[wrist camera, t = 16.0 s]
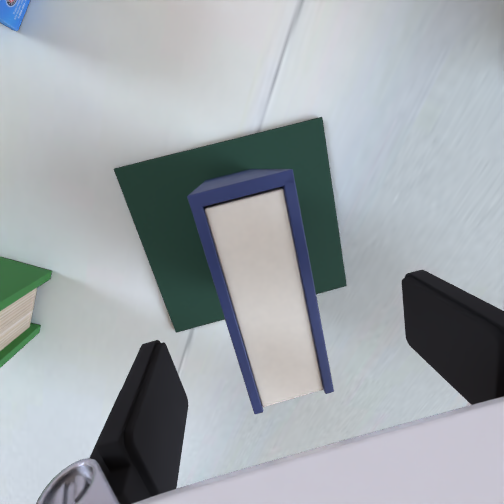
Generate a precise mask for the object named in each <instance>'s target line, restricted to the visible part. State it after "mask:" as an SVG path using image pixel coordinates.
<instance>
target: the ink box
mask: <svg viewBox="0 0 504 504" xmlns="http://www.w3.org/2000/svg"><path fill="white" fill-rule="evenodd" d="M29 2H30V0H0V23H2V24H3V25H5V26H7V27H9V28H10V29H12V30H15V31H18V30H19V27H20V25H21V23H22V20H23V17H24V15H25V12H26V10H27V7H28V5H29Z"/></svg>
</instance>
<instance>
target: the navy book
mask: <svg viewBox="0 0 504 504" xmlns="http://www.w3.org/2000/svg"><path fill="white" fill-rule="evenodd" d="M187 198H188V201H189V204H190V207H191V211H192V214H193V217H194V220H195V224H196V227H197V230H198V233H199V236H200V240H201V243H202V246H203V249H204V253H205V256H206V259H207V262H208V265H209V269H210V272H211V275H212V278H213V282H214V285H215V288H216V291H217V295H218V298H219V301H220V304H221V307H222V311H223V314H224V317H225V320H226V324H227V327H228V330H229V333H230V337H231V340H232V343H233V346H234V349H235V353H236V356H237V359H238V362H239V366H240V369H241V372H242V375H243V378H244V382H245V385H246V388H247V391H248V395H249V398H250V401H251V404H252V408H253V411H254V414H258V413H262V412H263V407H265V406H269V405H272V404H276V403H279V402H283V401H286V400H290V399H293V398H297V397H300V396H304V395H307V394H311V393H314V392H318V391H321V390H324V392H325V393H326V394H327V393H331V392H334V389H333V384H332V378H331V373H330V368H329V362H328V357H327V351H326V346H325V341H324V335H323V330H322V325H321V319H320V314H319V308H318V303H317V298H316V292H315V287H314V281H313V276H312V271H311V265H310V260H309V254H308V249H307V244H306V238H305V233H304V228H303V222H302V217H301V211H300V206H299V201H298V195H297V190H296V184H295V179H294V173H293V169H249V170H245V171H241V172H237V173H233V174H229V175H225V176H221V177H217V178H213V179H209V180H206V181H205V182H203V183H202V184H201V185H200V186H199V187H197V188H196V189H195V190H194V191H193V192H191V193H190V194H189V195H188V196H187ZM262 406H263V407H262Z"/></svg>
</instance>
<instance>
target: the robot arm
mask: <svg viewBox="0 0 504 504" xmlns="http://www.w3.org/2000/svg"><path fill="white" fill-rule="evenodd" d="M402 292H403V306H404V319H405V333H406V339H407V342H408V344H409V345H410V346H411V347H412V348H413V349H414V350H415V351H416V352H417V353H418V354H419V355H420V356H421V357H422V358H423V359H424V360H425V361H426V362H427V363H428V364H429V365H431V366H432V367H433V368H434V369H435V370H436V371H437V372H438V373H439V374H440V375H441V376H442V377H443V378H444V379H445V380H446V381H447V382H448V383H449V384H450V385H451V386H452V387H454V388H455V389H456V390H457V391H458V392H459V393H460V394H461V395H462V396H463V397H464V398H465V399H466V400H467V401H468V402H469V403H470V404H471V405H470V406H466V407H462V408H459V409H455V410H451V411H448V412H444V413H440V414H437V415H433V416H429V417H426V418H422V419H418V420H415V421H411V422H407V423H404V424H400V425H397V426H393V427H389V428H386V429H382V430H379V431H375V432H371V433H368V434H364V435H361V436H357V437H354V438H350V439H346V440H343V441H339V442H336V443H332V444H329V445H325V446H322V447H318V448H314V449H311V450H307V451H304V452H300V453H297V454H293V455H290V456H286V457H283V458H279V459H276V460H272V461H269V462H265V463H262V464H258V465H255V466H251V467H248V468H244V469H241V470H238V471H234V472H231V473H227V474H224V475H220V476H217V477H213V478H210V479H207V480H204V481H200V482H197V483H194V484H191V485H187V486H184V487H181V488H178V489H176V487H177V480H178V473H179V466H180V459H181V452H182V445H183V438H184V431H185V425H186V418H187V411H188V399H187V396H186V393H185V391H184V388H183V386H182V383H181V381H180V378H179V376H178V373H177V371H176V368H175V366H174V363H173V361H172V358H171V356H170V353H169V351H168V348H167V346H166V344H165V343H160V341H158V340H156V341H153V342H149V343H145V344H142V346H141V348H140V350H139V352H138V354H137V357H136V359H135V361H134V363H133V365H132V368H131V370H130V372H129V374H128V376H127V378H126V381H125V383H124V385H123V387H122V389H121V391H120V393H119V395H118V397H117V399H116V401H115V404H114V406H113V408H112V410H111V412H110V414H109V417H108V419H107V421H106V423H105V425H104V428H103V430H102V432H101V434H100V436H99V439H98V441H97V443H96V445H95V447H94V449H93V452H92V454H91V456H90V458H87V459H82V460H79V461H77V462H75V463H73V464H71V465H69V466H68V467H66V468H65V469H64V470H62V471H61V472H60V473H59V474H58V475H57V476H56V477H54V478H53V479H52V480H51V482H50V483H49V484H48V485H47V486H46V488H45V489H44V490H43V492H42V494H41V495H40V497H39V498H38V501H37V503H36V504H504V311H502V310H500V309H498V308H497V307H495V306H493V305H491V304H489V303H487V302H485V301H483V300H481V299H479V298H477V297H475V296H473V295H471V294H469V293H467V292H465V291H463V290H462V289H460V288H458V287H456V286H454V285H452V284H450V283H448V282H446V281H444V280H442V279H440V278H438V277H436V276H434V275H432V274H430V273H428V272H427V271H424V270H419V271H415V272H411V273H408V274H406V276H405V278H404V279H403V280H402Z"/></svg>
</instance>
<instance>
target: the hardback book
mask: <svg viewBox="0 0 504 504" xmlns="http://www.w3.org/2000/svg"><path fill="white" fill-rule="evenodd" d="M51 273H52V271H50V270H47V269H43V268H40V267H36V266H32V265H29V264H25V263H21V262H18V261H14V260H10V259H7V258H3V257H0V368H1V367H2V366H3V365H4V364H5V363H6V362H7V361H8V360H9V359H11V358H12V357H13V356H14V355H15V354H16V353H17V352H18V351H19V350H20V349H22V348H23V347H24V346H25V345H26V344H27V343H28V342H29V341H30V340H32V339H33V338H34V337H35V336H36V335H37V334H38V333H39V331H40V326H41V325H37V324H33V323H31V318H32V312H33V307H34V302H35V297H36V292H37V287H39V286H40V285H42V284H43V283H45V282H46V281H48V280H49V279H50V278H51Z"/></svg>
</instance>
